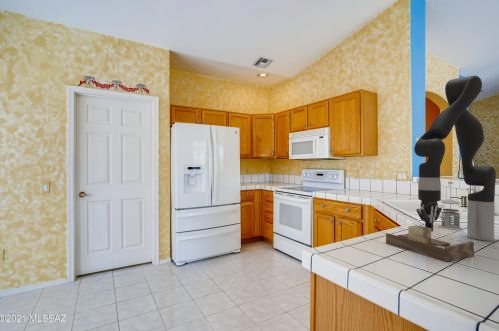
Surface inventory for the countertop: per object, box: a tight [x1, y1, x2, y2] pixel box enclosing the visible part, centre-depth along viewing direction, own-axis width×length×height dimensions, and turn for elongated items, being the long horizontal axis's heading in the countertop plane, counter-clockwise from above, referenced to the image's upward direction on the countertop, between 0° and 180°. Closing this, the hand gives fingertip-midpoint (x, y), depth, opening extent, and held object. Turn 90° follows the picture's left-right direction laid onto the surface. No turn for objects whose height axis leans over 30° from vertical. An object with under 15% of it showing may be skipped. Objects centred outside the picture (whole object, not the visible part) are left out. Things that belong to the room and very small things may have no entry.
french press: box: [439, 181, 463, 231], centre depth 138 cm, size 10×12×25 cm
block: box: [407, 224, 432, 244], centre depth 103 cm, size 6×6×6 cm
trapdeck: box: [385, 232, 475, 263], centre depth 103 cm, size 16×24×5 cm, turn 24°
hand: (429, 231), depth 104 cm, fingers closed
